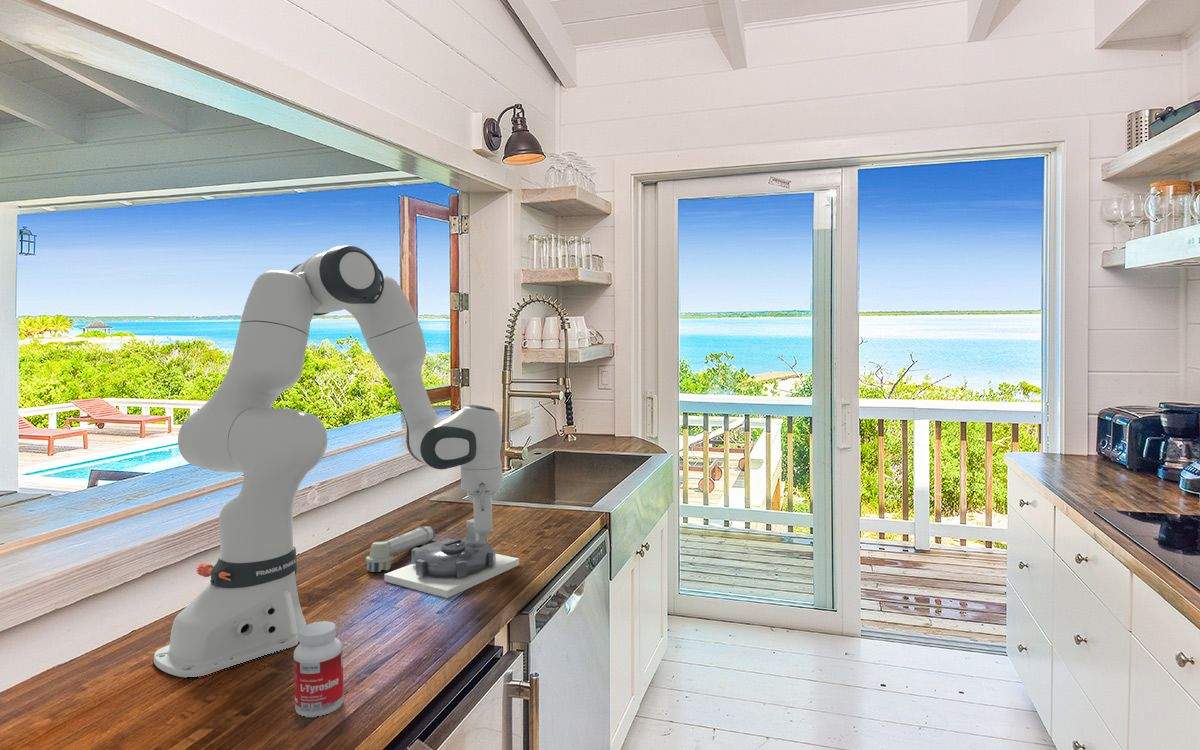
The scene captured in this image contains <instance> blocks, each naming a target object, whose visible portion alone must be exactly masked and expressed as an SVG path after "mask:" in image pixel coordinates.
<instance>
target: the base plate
mask: <svg viewBox="0 0 1200 750" xmlns="http://www.w3.org/2000/svg"><path fill="white" fill-rule="evenodd" d="M495 556H496V564H495V565H494V566H493V567H489V566H488V567H487V568H485V569H483V570H481V571H478V572H476V573H472V574H468V575H467V577H461V578H457V577H456V576H454V577H434V576H424V577H421V576H418V575H416V569H415V564H412V563H411V564H407V565H406V566H402V567H400V568H397V569H394V570H392V571H390V572H387V573H384V578H383V579H384V582H385V583H390V584H394V585H396V586H397V585H398V586H401V587H404V588H408V589H411V590H412V589H413V590H414V591H415V590H416V591H419V592H422V593H423V592H424V593H426V594H430V595H433V596H434V595H435V596H436V597H437V596H438V597H440V598H441V597H442V598H446V599H449V598H450V597H452V596H455V595H457V594H459V593H461V592H463V591H466V590H468V589H470V588H473V587H475V586H476V585H478V584H480V583H481V584H482V583H484V582H486V581H487V580H488V581H489V580H490V579H492V578H494V577H496V576H498V575H500V574H502V573H505V572H507V571H510V570H512V569H513V568H516V567H518V566H520V558H518V557H514V556H509V555H504V554H499V553H495Z"/></svg>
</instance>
